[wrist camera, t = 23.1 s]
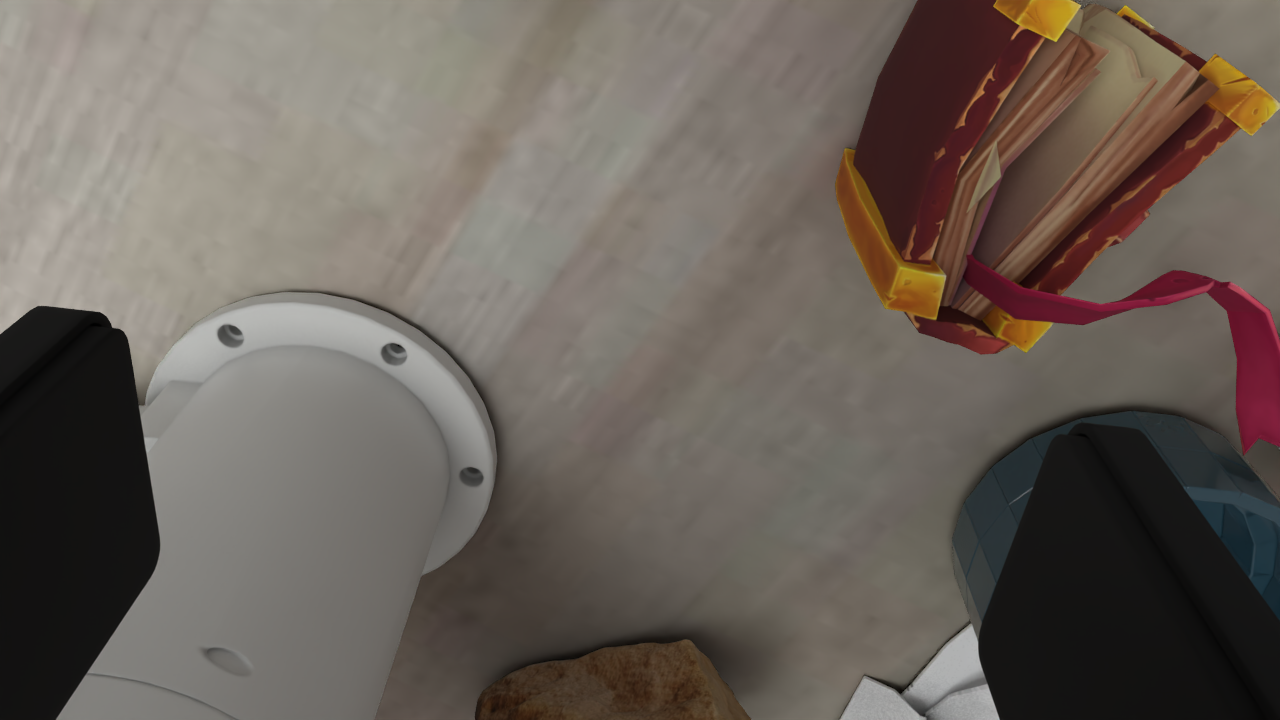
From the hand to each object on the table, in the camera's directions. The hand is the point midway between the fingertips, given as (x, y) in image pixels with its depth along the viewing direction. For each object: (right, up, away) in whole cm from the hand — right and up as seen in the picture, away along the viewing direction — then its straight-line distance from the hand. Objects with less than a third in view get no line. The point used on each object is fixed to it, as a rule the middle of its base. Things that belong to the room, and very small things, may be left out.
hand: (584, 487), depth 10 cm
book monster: (+12, +8, +21) cm, 25 cm away
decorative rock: (0, -12, +32) cm, 34 cm away
